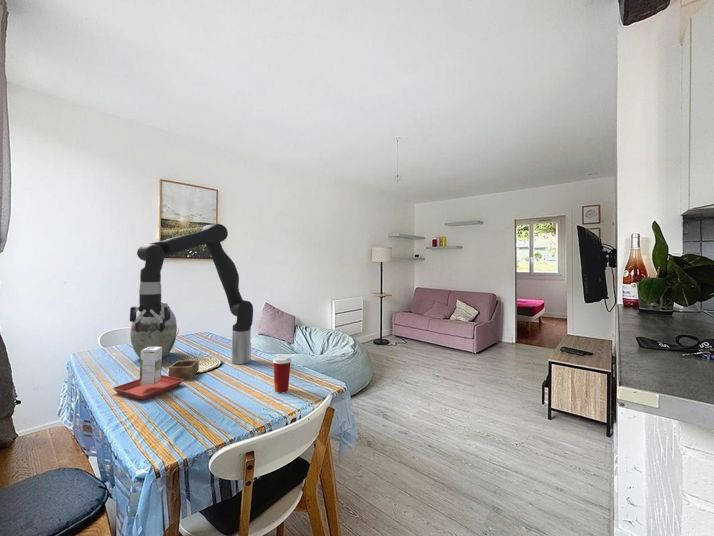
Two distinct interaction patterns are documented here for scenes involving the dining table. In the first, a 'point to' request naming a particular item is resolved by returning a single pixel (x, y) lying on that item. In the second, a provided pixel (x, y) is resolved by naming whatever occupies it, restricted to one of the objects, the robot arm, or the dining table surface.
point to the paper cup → (281, 373)
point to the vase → (154, 333)
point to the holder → (184, 369)
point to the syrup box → (150, 365)
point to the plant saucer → (148, 387)
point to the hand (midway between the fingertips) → (150, 331)
